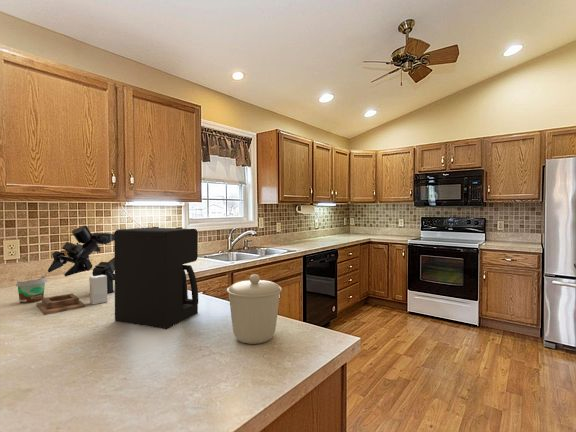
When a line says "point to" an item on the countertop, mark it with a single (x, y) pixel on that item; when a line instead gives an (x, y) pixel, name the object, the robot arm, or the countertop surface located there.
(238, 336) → the canister
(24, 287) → the food container
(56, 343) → the countertop surface
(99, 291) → the skincare box
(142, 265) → the coffee maker
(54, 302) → the frame
